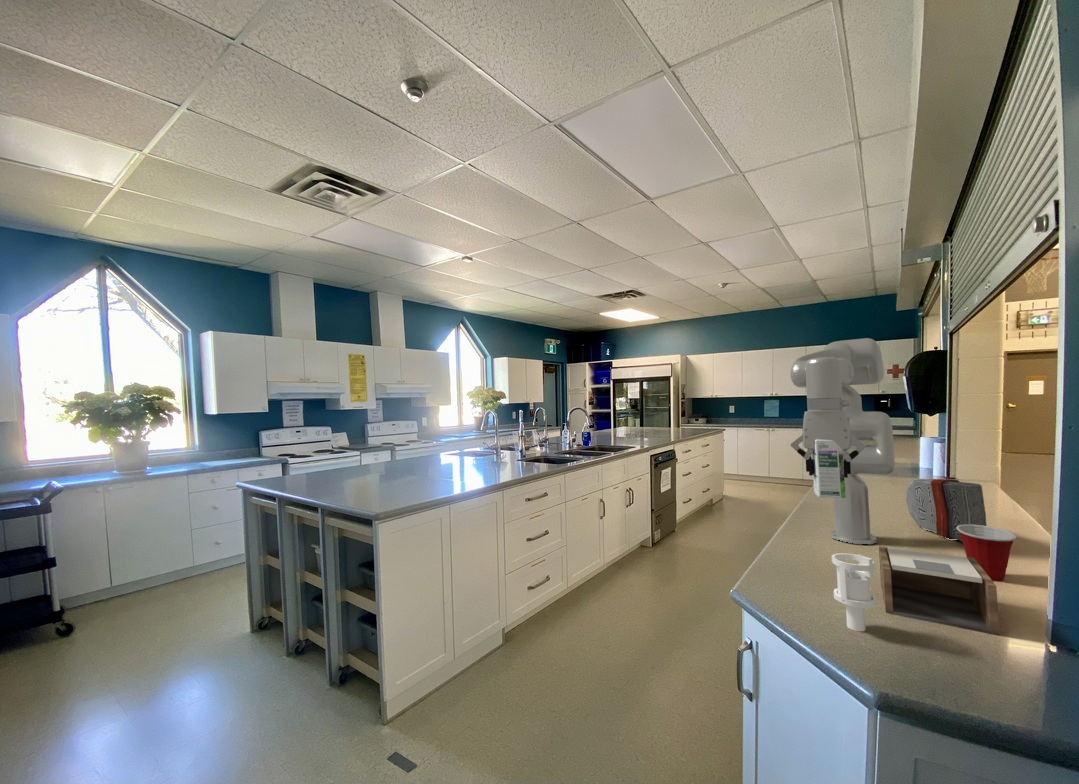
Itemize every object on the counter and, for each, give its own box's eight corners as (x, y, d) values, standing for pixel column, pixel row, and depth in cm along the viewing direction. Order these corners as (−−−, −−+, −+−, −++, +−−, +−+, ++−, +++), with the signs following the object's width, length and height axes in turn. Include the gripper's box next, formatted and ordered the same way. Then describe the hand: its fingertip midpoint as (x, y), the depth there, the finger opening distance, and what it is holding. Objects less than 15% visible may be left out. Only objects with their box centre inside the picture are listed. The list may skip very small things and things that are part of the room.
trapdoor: (887, 551, 105) (887, 546, 105) (966, 561, 97) (966, 556, 97) (892, 569, 94) (892, 564, 94) (982, 583, 86) (981, 577, 86)
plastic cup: (974, 583, 107) (970, 534, 107) (950, 567, 117) (947, 523, 117) (1032, 588, 103) (1028, 538, 103) (1002, 571, 113) (998, 525, 113)
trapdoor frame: (880, 583, 108) (878, 545, 108) (976, 600, 98) (974, 558, 98) (886, 612, 93) (883, 568, 93) (999, 635, 83) (996, 586, 83)
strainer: (864, 640, 83) (860, 561, 83) (827, 623, 89) (823, 551, 90) (885, 631, 86) (881, 555, 86) (848, 616, 92) (844, 545, 93)
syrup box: (818, 497, 107) (815, 439, 107) (813, 492, 112) (810, 437, 113) (845, 498, 105) (842, 439, 105) (839, 494, 110) (836, 437, 111)
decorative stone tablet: (986, 482, 130) (920, 475, 159) (960, 482, 132) (900, 475, 161) (994, 548, 128) (926, 529, 157) (969, 547, 129) (906, 528, 158)
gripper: (867, 404, 107) (871, 476, 106) (787, 406, 117) (790, 471, 117) (867, 405, 101) (871, 480, 100) (783, 406, 111) (787, 475, 111)
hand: (828, 475), depth 109 cm, fingers closed on syrup box, 6 cm apart
